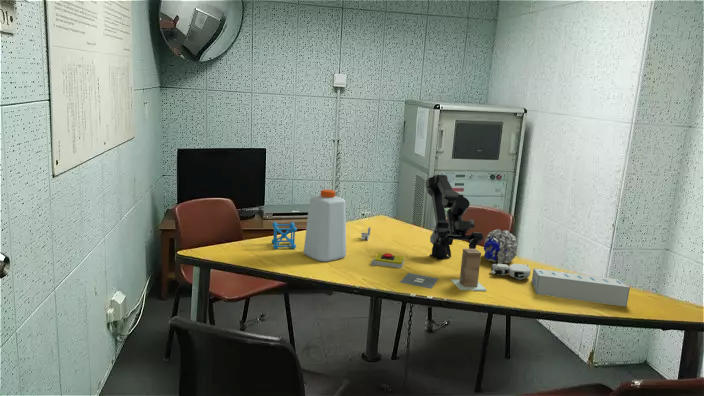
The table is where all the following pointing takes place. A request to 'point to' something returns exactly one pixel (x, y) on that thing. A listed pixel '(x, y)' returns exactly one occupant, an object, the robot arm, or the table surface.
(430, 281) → the gray square plate
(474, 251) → the walnut block
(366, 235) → the architectural model
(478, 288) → the pad
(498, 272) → the robot toy
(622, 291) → the warehouse
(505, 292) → the table surface
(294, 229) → the molecular structure
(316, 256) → the plastic bottle
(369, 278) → the table surface
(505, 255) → the educational model
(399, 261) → the emergency button
